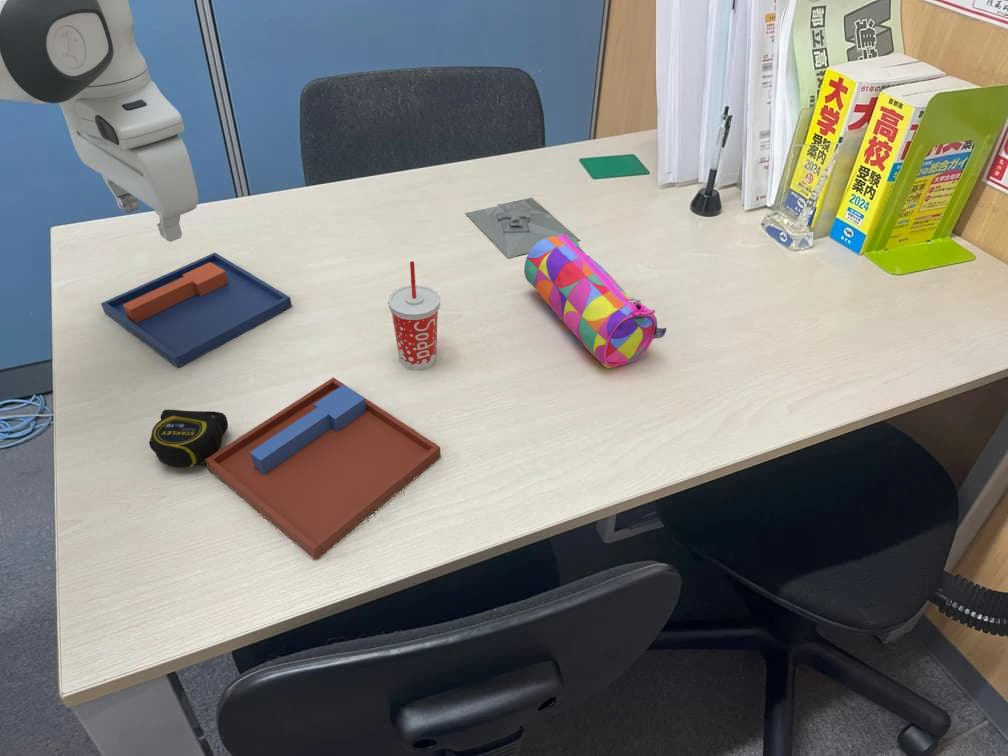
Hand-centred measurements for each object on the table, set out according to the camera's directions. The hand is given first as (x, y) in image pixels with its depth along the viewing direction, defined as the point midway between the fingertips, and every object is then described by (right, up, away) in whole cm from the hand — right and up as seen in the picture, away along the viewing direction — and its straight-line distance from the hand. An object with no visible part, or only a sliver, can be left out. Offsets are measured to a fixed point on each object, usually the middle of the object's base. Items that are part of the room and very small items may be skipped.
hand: (150, 222), depth 81 cm
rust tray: (+21, -27, -5) cm, 35 cm away
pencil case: (+51, -11, +15) cm, 55 cm away
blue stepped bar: (+20, -24, -3) cm, 31 cm away
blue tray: (0, -9, +14) cm, 17 cm away
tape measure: (+7, -25, -4) cm, 26 cm away
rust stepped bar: (-3, -7, +16) cm, 17 cm away
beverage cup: (+30, -15, +8) cm, 34 cm away
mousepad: (+39, +9, +37) cm, 54 cm away
